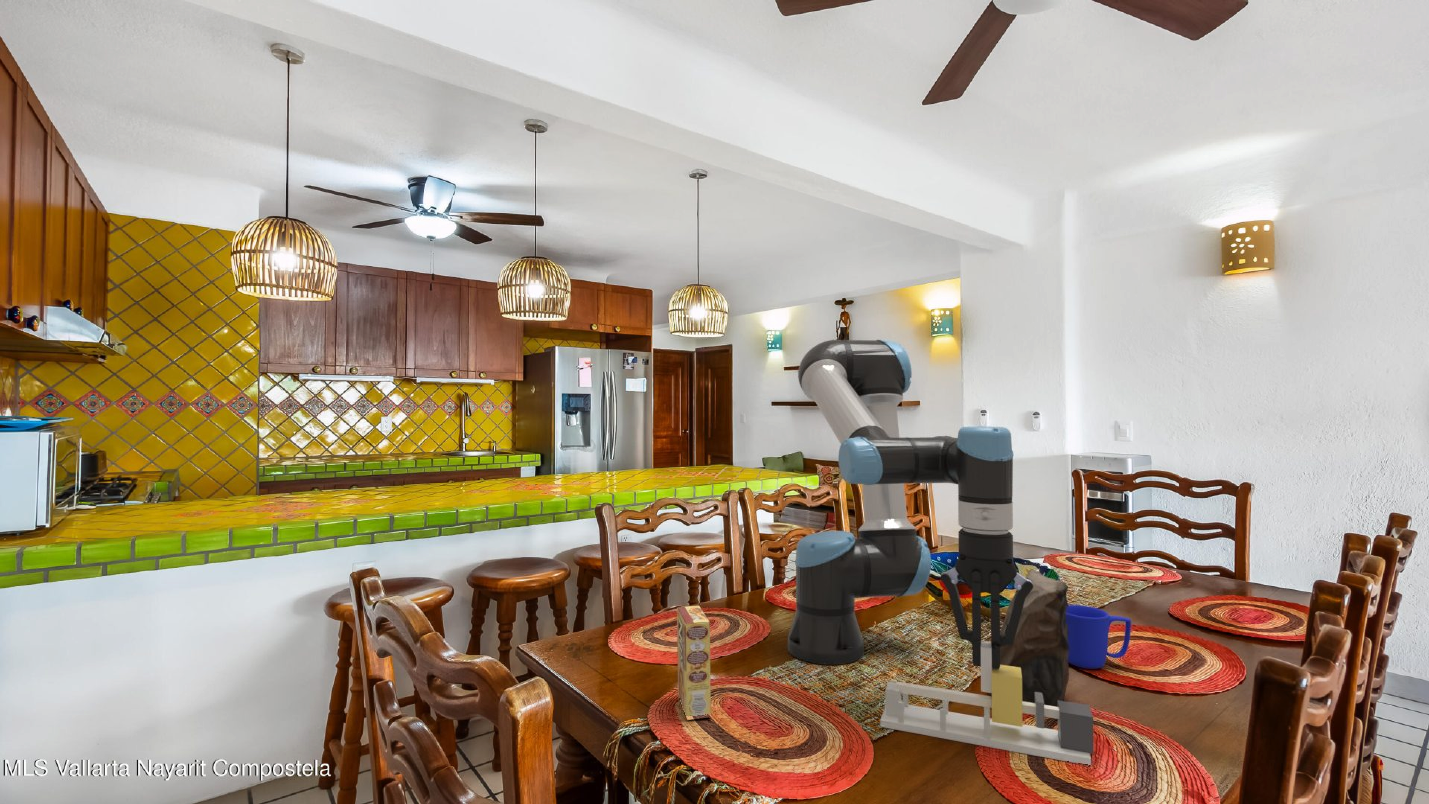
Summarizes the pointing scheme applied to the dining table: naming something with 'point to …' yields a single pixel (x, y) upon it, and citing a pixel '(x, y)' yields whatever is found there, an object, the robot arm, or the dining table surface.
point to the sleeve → (1007, 695)
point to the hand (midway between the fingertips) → (986, 688)
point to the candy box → (693, 660)
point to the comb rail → (993, 723)
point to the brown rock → (1041, 641)
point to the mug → (1092, 636)
